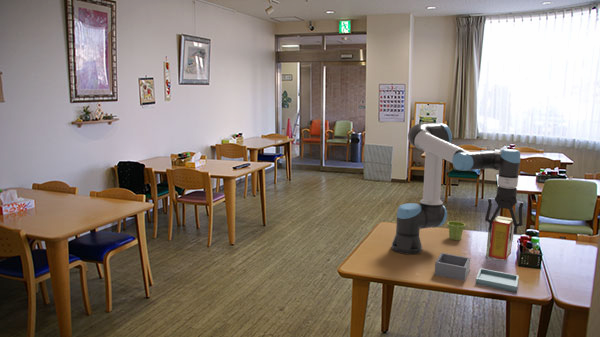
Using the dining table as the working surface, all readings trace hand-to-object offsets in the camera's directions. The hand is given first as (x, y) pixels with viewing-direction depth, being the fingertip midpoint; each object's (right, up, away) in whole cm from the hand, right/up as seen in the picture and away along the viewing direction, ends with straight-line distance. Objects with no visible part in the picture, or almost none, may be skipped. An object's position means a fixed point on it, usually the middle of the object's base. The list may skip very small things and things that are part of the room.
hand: (501, 239), depth 194 cm
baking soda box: (0, -7, +1) cm, 7 cm away
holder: (-17, -17, +13) cm, 27 cm away
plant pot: (0, -9, +60) cm, 61 cm away
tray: (0, -19, +4) cm, 20 cm away
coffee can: (+12, -14, +34) cm, 39 cm away
